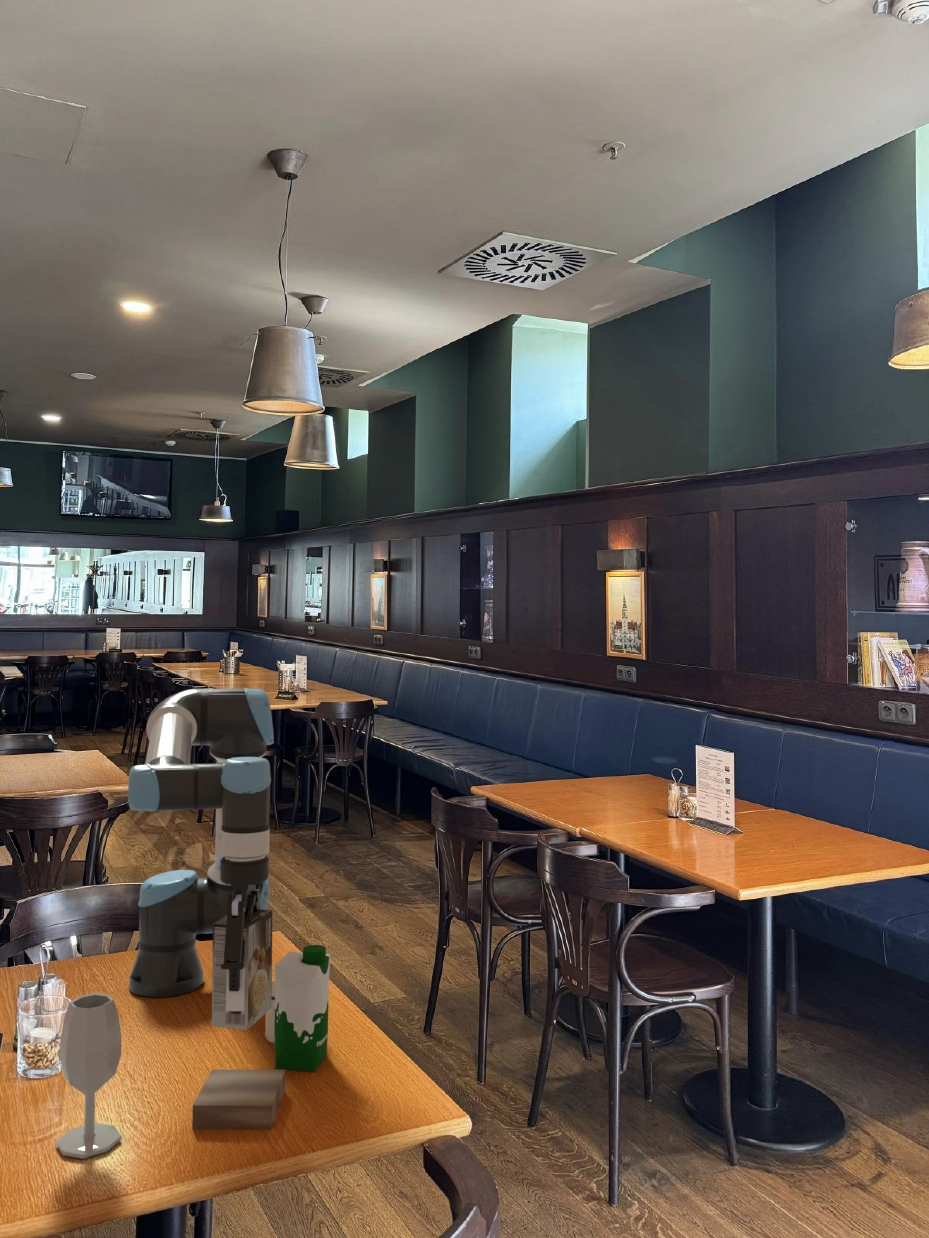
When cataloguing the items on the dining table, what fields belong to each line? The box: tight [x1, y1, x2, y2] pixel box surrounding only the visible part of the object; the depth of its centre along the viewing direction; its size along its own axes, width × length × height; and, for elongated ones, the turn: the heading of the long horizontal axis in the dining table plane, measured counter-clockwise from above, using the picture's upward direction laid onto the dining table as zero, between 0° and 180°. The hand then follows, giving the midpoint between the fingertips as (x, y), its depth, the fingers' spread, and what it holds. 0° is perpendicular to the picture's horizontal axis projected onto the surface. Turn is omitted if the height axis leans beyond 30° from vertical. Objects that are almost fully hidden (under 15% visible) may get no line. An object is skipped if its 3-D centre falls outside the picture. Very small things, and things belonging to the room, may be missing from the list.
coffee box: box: [211, 909, 273, 1031], centre depth 152 cm, size 9×6×16 cm
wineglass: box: [55, 992, 123, 1160], centre depth 141 cm, size 9×9×21 cm
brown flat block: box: [191, 1069, 286, 1131], centre depth 152 cm, size 12×12×4 cm
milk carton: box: [274, 944, 332, 1073], centre depth 169 cm, size 9×9×20 cm
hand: (242, 997), depth 152 cm, fingers closed on coffee box, 10 cm apart
